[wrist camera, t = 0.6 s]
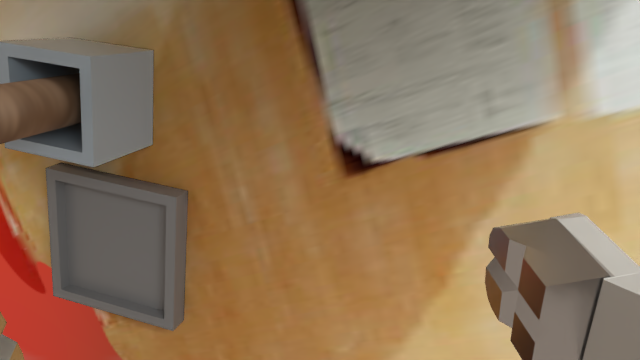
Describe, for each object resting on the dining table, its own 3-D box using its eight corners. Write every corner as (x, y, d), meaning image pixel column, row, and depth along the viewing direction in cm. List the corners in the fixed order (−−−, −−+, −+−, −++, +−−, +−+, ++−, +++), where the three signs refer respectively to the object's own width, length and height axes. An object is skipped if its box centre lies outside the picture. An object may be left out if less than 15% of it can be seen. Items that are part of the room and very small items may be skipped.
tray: (61, 162, 52) (45, 168, 50) (188, 190, 49) (176, 197, 47) (67, 286, 57) (53, 295, 55) (183, 320, 53) (173, 330, 51)
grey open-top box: (70, 37, 48) (-5, 41, 40) (153, 50, 46) (90, 56, 38) (74, 128, 50) (5, 147, 43) (152, 144, 48) (93, 167, 41)
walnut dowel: (92, 66, 48) (-80, 87, 33) (131, 72, 47) (-29, 97, 32) (94, 109, 49) (-72, 148, 34) (131, 116, 48) (-23, 159, 34)
